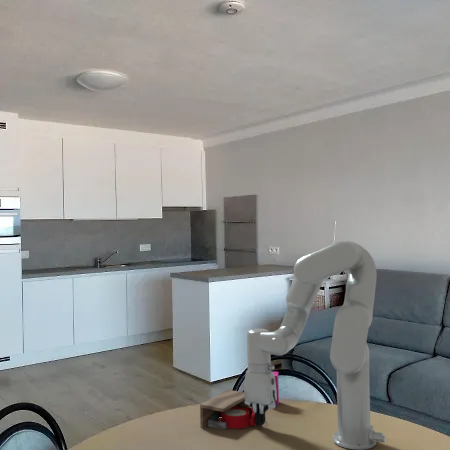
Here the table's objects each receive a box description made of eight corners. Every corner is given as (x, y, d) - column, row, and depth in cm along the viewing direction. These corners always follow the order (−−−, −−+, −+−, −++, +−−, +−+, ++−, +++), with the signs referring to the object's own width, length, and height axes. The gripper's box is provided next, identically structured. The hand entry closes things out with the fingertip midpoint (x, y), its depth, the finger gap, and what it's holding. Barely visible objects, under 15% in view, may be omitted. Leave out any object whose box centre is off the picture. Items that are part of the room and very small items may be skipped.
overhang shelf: (250, 415, 168) (250, 393, 169) (223, 432, 153) (223, 408, 153) (228, 411, 173) (228, 389, 173) (200, 427, 158) (200, 404, 158)
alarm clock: (215, 408, 166) (256, 396, 168) (219, 426, 166) (261, 414, 167) (218, 419, 155) (262, 406, 157) (222, 438, 155) (267, 425, 157)
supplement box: (262, 406, 177) (261, 375, 178) (263, 401, 183) (263, 370, 184) (278, 407, 176) (277, 375, 177) (279, 401, 182) (278, 371, 183)
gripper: (284, 367, 157) (286, 425, 156) (244, 362, 164) (245, 417, 164) (275, 373, 150) (276, 432, 149) (233, 367, 158) (234, 424, 157)
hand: (260, 424), depth 156 cm, fingers closed
